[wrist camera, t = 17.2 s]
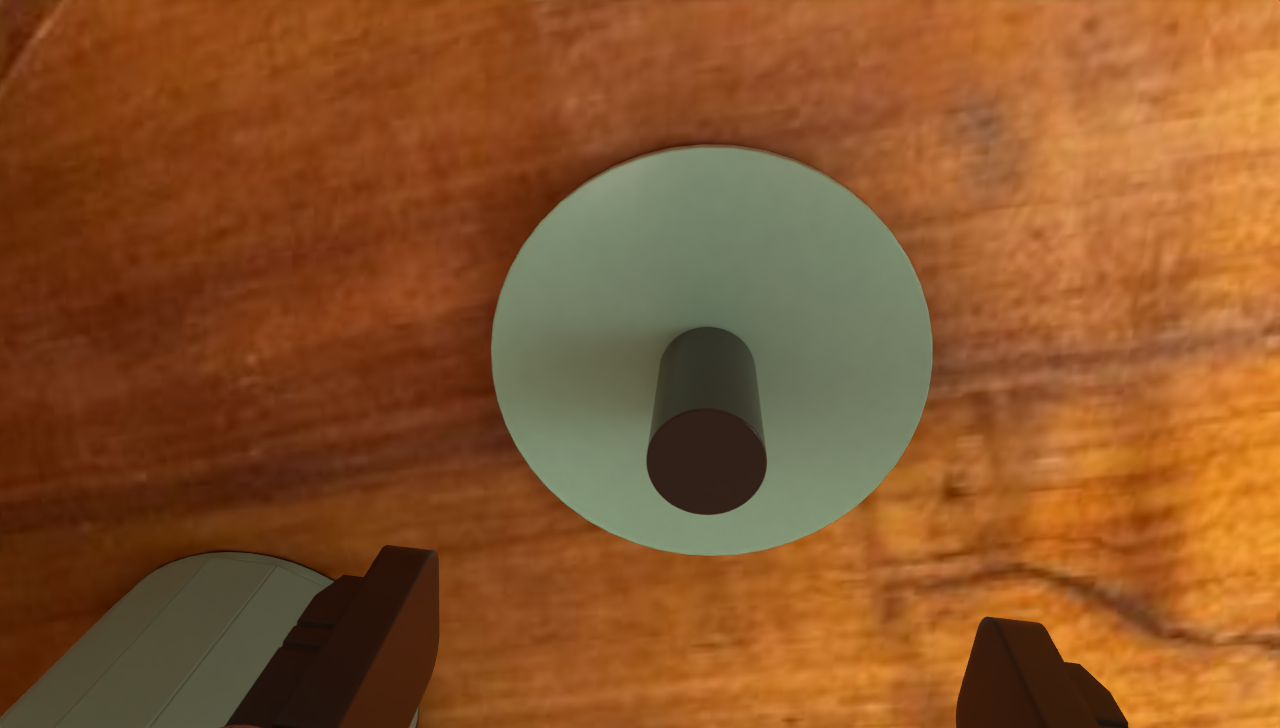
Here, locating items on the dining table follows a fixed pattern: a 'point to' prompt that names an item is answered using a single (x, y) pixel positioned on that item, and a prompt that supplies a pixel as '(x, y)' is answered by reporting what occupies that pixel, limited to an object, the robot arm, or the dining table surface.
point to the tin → (175, 647)
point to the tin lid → (711, 350)
